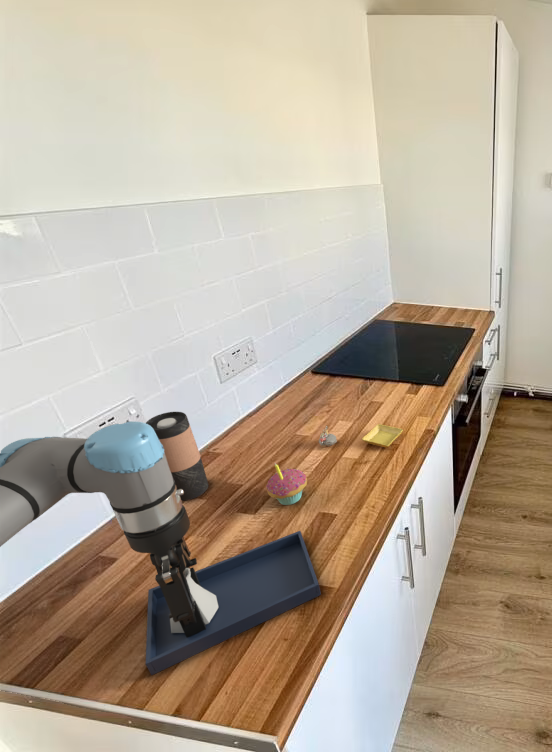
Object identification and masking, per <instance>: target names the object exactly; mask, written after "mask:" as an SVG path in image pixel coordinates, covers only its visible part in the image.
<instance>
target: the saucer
mask: <svg viewBox="0 0 552 752" xmlns="http://www.w3.org/2000/svg"><path fill="white" fill-rule="evenodd" d="M403 431H404V429H402V428H399V427H395V426H390V425H386V424H381V423H378V424H376V425H375V426H374V427H373V428H372V429H371V430H370V431H368V433H367V434H365V435H364V436H363V437H362V438H361V440H362V442H364V443H367V444H369V445H373V446H376V447H382V448H385V449H387V448H389V447H390V446H391V445H392V444H393V443H394V442H395V441H396V439H397V438H398V437H400V435H402V433H403Z"/></svg>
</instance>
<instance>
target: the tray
mask: <svg viewBox="0 0 552 752" xmlns="http://www.w3.org/2000/svg"><path fill="white" fill-rule="evenodd" d="M195 573H196V575H197V578H198V580H199V583H200V585H201V587H202V588H204V589H205V590H207V591H209V592H211V593H212V594H214V595H216V598H217V602H218V607H219V608H218V609H217V611H216V612H215V614H214V616H213V617H212V619H211V621H210V622H209V623H208V624H206V629H205V630H203V631H201V632H199V633H196V634H194V635H192V636H190V637H188V638H187V637H186V635H185V633H171V625H170V618H169V615H170V613H171V612H170V610H169V607H168V605H167V602H166V600H165V597H164V595H163V592H162V590H161V588H160V586H159V585H157V586H155V587H151V588H149V589H148V591H147V593H148V594H147V615H146V616H147V618H146V641H145V643H146V646H145V666H146V668H147V670H148V672H149V673H150V675H151V676H153V675H155V674H158V673H160V672H162V671H164V670H166V669H168V668H171V667H172V666H174V665H176V664H179V663H181V662H183V661H185V660H187V659H189V658H191V657H193V656H196V655H198V654H200V653H202V652H204V651H206V650H209V649H211V648H213V647H214V646H217V645H219V644H221V643H223V642H225V641H228V640H229V639H231V638H234V637H236V636H238V635H240V634H241V633H243V632H246V631H248V630H250V629H253V628H254V627H257V626H259V625H261V624H263V623H265V622H268V621H270V620H272V619H273V618H276V617H277V616H280V615H281V614H284V613H286V612H288V611H290V610H292V609H295V608H297V607H299V606H301V605H302V604H305V603H307V602H309V601H311V600H313V599H315V598H317V597H319V596H321V595H322V594H321V589H320V588H321V587H320V584H319V581H318V578H317V575H316V572H315V569H314V566H313V563H312V561H311V557H310V555H309V552H308V549H307V546H306V543H305V540H304V537H303V534H302V531H301V530H298V531H295V532H293V533H291V534H287V535H285V536H283V537H280V538H278V539H275V540H272V541H270V542H268V543H265V544H262V545H259V546H257V547H254V548H252V549H249V550H246V551H244V552H241V553H239V554H237V555H234V556H231V557H229V558H226V559H223V560H221V561H219V562H216V563H214V564H211V565H209V566H206V567H203V568H200V569H198V570H195Z"/></svg>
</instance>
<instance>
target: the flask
mask: <svg viewBox="0 0 552 752" xmlns="http://www.w3.org/2000/svg"><path fill="white" fill-rule="evenodd" d="M190 568H191V567H190ZM190 568H186V569H185V570H184V573H185V576H186V579H187V582H188V586H189V589H190V592H191V595H192V599H193V601H196V603H197V606H198V608H199V611H200V613H201V615H202V618H203V620H204V623H205V625H206V624H208V623H209V622H210V621H211V619H212V617H213V616H214V614H215V612H216V611H217V609H218V608H219V607H218V602H217V598H216V595H214V594H212V593H211V592H209V591H207V590H205V589H204V588H202V587H201V586H199V585H198V584H196V583H195V582H194V581H193V579H192V578H191V577H190V576H191V573H190ZM170 625H171V633H184V631H183V629H182V626H181V624H180V622H179V621H178V622H174V621H173V618H171V619H170Z"/></svg>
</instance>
